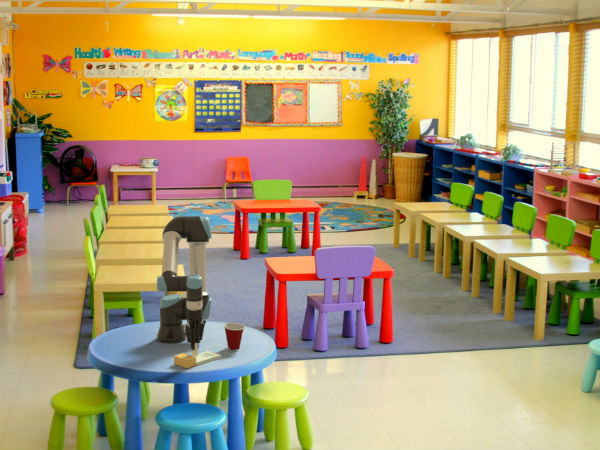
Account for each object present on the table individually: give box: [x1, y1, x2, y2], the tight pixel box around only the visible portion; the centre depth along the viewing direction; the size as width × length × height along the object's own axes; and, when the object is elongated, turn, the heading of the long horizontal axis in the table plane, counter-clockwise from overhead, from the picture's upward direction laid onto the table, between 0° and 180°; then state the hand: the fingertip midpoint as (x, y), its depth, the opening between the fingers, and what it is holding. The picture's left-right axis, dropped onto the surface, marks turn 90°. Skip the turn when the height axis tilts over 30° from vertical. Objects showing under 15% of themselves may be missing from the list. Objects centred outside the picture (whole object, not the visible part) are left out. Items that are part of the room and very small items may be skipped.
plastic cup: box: [223, 322, 246, 351], centre depth 412 cm, size 11×11×12 cm
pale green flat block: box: [194, 350, 222, 367], centre depth 395 cm, size 9×16×2 cm, turn 138°
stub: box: [173, 352, 196, 369], centre depth 387 cm, size 9×6×4 cm, turn 48°
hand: (194, 355), depth 391 cm, fingers closed
